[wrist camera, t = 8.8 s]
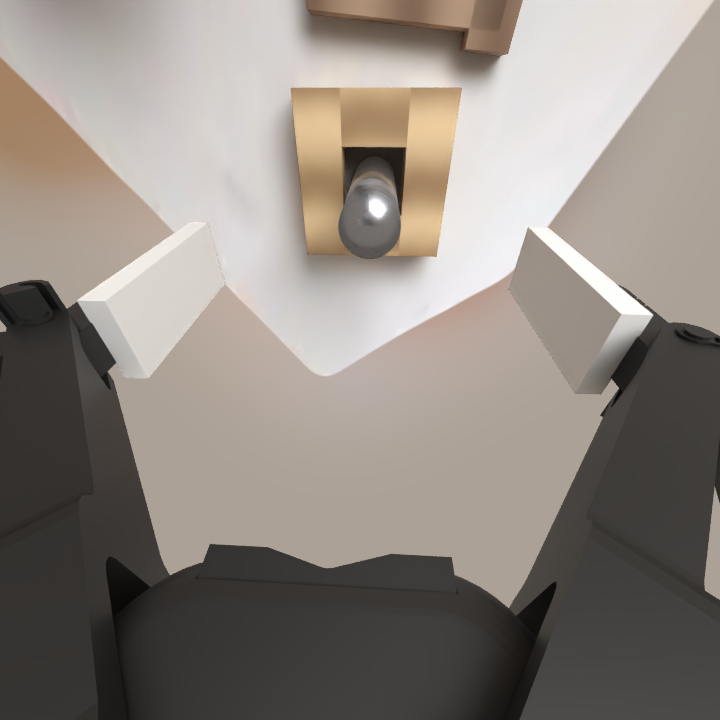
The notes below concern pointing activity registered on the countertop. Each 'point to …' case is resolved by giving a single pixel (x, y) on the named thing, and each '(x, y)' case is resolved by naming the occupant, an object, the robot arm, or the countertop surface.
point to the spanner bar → (437, 18)
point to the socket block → (375, 129)
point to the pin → (371, 211)
